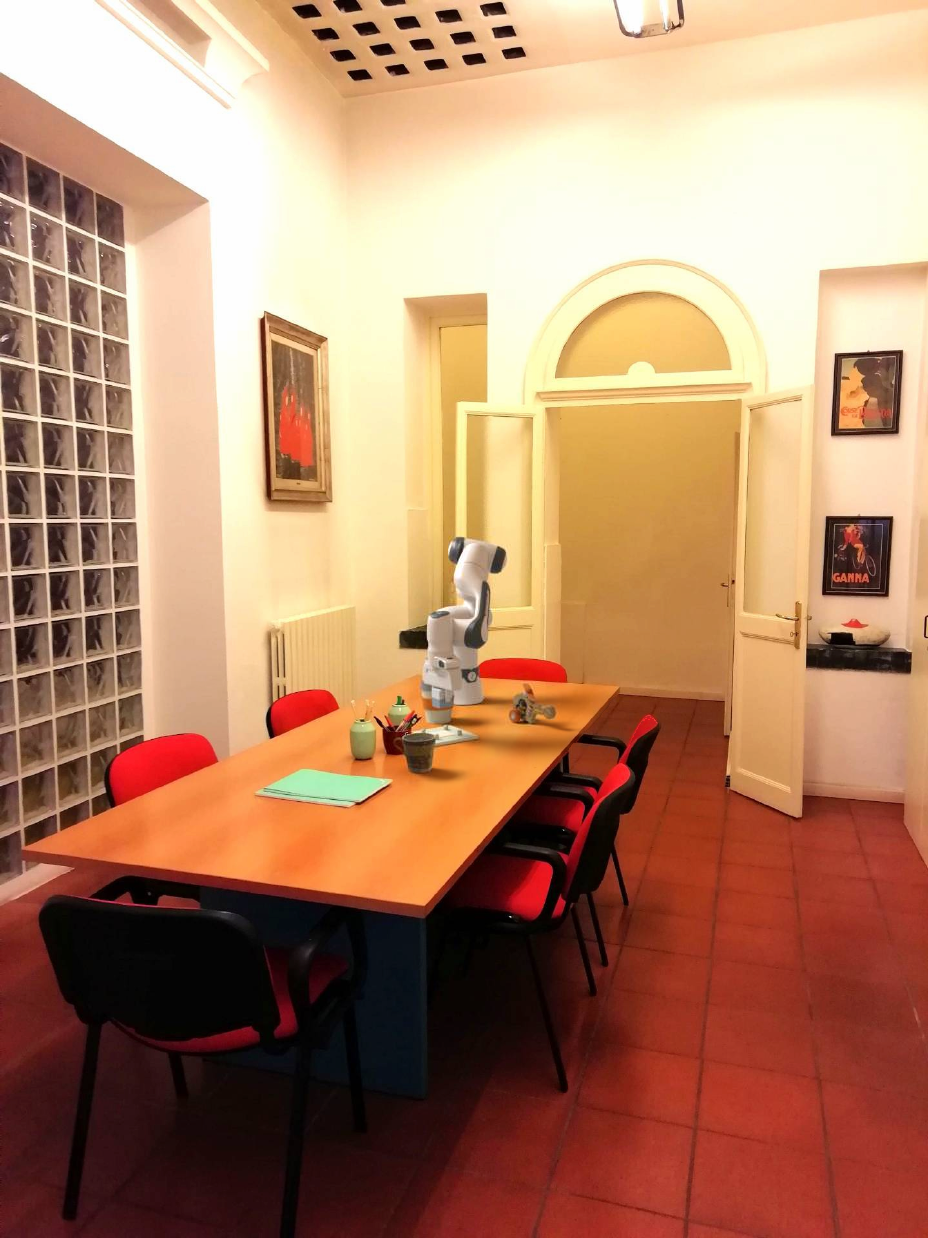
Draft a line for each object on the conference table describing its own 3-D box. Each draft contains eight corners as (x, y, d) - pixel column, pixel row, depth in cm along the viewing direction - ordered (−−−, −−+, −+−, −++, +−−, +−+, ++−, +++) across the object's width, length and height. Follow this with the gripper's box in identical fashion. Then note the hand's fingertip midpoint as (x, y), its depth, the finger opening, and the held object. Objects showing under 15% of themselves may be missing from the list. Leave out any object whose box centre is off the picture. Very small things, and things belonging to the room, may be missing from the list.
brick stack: (432, 706, 296) (431, 688, 296) (444, 704, 299) (444, 686, 298) (439, 708, 292) (439, 690, 291) (452, 706, 295) (452, 688, 294)
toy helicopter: (523, 717, 323) (522, 681, 321) (563, 727, 307) (562, 689, 305) (506, 721, 318) (505, 684, 316) (546, 731, 302) (545, 692, 300)
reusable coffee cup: (417, 724, 316) (416, 683, 314) (426, 716, 328) (425, 677, 326) (450, 725, 313) (449, 684, 311) (459, 717, 325) (458, 677, 323)
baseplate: (405, 735, 300) (405, 728, 300) (450, 728, 309) (450, 721, 309) (431, 747, 285) (431, 739, 285) (478, 738, 294) (477, 731, 294)
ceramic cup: (440, 766, 263) (440, 733, 262) (430, 775, 254) (429, 742, 253) (400, 763, 267) (399, 731, 266) (388, 773, 257) (387, 739, 256)
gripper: (417, 657, 301) (418, 696, 302) (448, 664, 284) (449, 706, 285) (433, 655, 304) (434, 694, 306) (464, 662, 287) (466, 703, 288)
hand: (442, 700), depth 295 cm, fingers closed on brick stack, 5 cm apart
